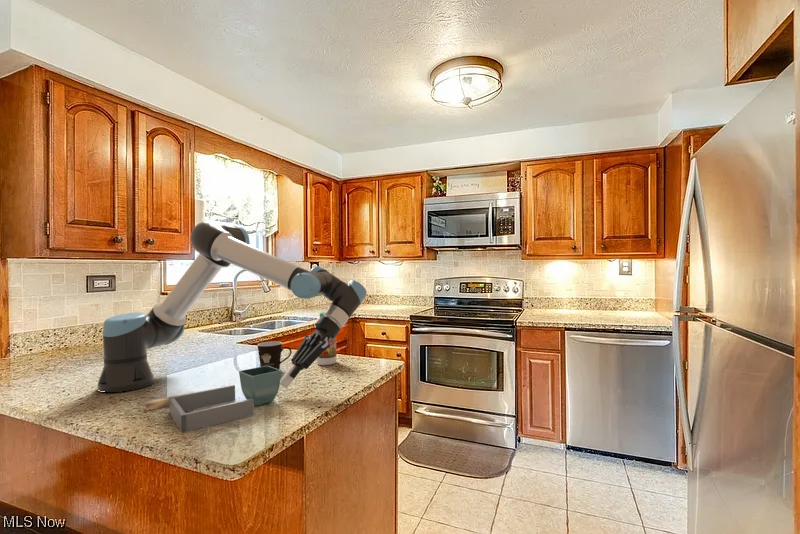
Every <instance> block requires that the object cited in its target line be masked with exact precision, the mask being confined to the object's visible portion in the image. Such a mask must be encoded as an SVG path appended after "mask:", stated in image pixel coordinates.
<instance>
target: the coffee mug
mask: <svg viewBox="0 0 800 534" xmlns="http://www.w3.org/2000/svg"><path fill="white" fill-rule="evenodd" d="M282 345H283V342H281V341H265V342H260V343H258V344H257V350H258V351H257V353H258V358H259V365H260V366H259V367H263V366H270V367H273V368H276V369H279V370H281V367H280V366H281V364H282V363H283V362H285V361H286V360H288V359H289V358H290V356H291V355H292V353H293V351H292V349H291V348H290V347H289V346H283V347H282ZM285 349H288V350H289V354H288V356H286V357H285V358H284V359H282V360H281V357H282V352H283V351H284V350H285Z"/></svg>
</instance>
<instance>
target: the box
mask: <svg viewBox="0 0 800 534" xmlns="http://www.w3.org/2000/svg"><path fill="white" fill-rule="evenodd" d="M189 393H190V394H187V393H184V394H185V395H182V394H179V395H180V396H176V395H173V396H174V397H171V396H168V397H169V406H168V407H169V408H168V410H169V412H168V413H169V414H170V416H171V418H172V420H173V421H174V422H175V424H176V426H177V427H178V429H179V431H180V432H181V433H182V434H183V433H188V432H191V431H195V430H200V429H203V428H207V427H210V426H211V427H212V426H215V425H219V424H223V423H227V422H230V421H235V420H239V419H243V418H246V417H251V416H254V415H255V405H254V399H253V398H252V399H243V400H239V401H235V402H231V401H234V400H236V385H235V384H232V385H225V386H220V387H216V388H211V389H206V390H205V389H204V390H201V391H195V392H194V393H192V392H189ZM229 401H230V402H231V403H225V404H221V403H224V402H229ZM215 404H221V405H216V406H213V407H212V406H211V405H215ZM207 406H211V407H208V408H203V409H198V410H195V411H190V412H185V411H188V410H193V409H197V408H202V407H207Z"/></svg>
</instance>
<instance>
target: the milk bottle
mask: <svg viewBox="0 0 800 534" xmlns="http://www.w3.org/2000/svg"><path fill="white" fill-rule="evenodd" d="M324 312H325V311H323V312H320V313H319V318H320V317H321V316H323V313H324ZM328 344H329V345H330V346H329V347H328V348H327V349H326V350H325V351H323V353H322V354H321V355H320V356H319V357H318V358H317V359H316V365H318V366H330V365H334V364H336V363H337V361H338V360H337V358H338V357H337V336H336V337H335V338H334V339H331V338H330V339H329V341H328Z"/></svg>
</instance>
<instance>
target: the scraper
mask: <svg viewBox="0 0 800 534" xmlns="http://www.w3.org/2000/svg"><path fill="white" fill-rule="evenodd" d="M190 393H195V392H194V391H193V392H187V393H182V394H176V395H173V396H171V395H170V396H168V397H163V398H162V397H161V398H157V399H153V400H152V399H150V400H148V401H144V402H145V403H144V407H145V410H146V411H150V410H149V409H151V410H154V409H155V408H156V409H160V408H159V407H161V408H165V407H164V406H166V407H169V397H174V396H180V395H185V394H190ZM156 409H155V410H156Z"/></svg>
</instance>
